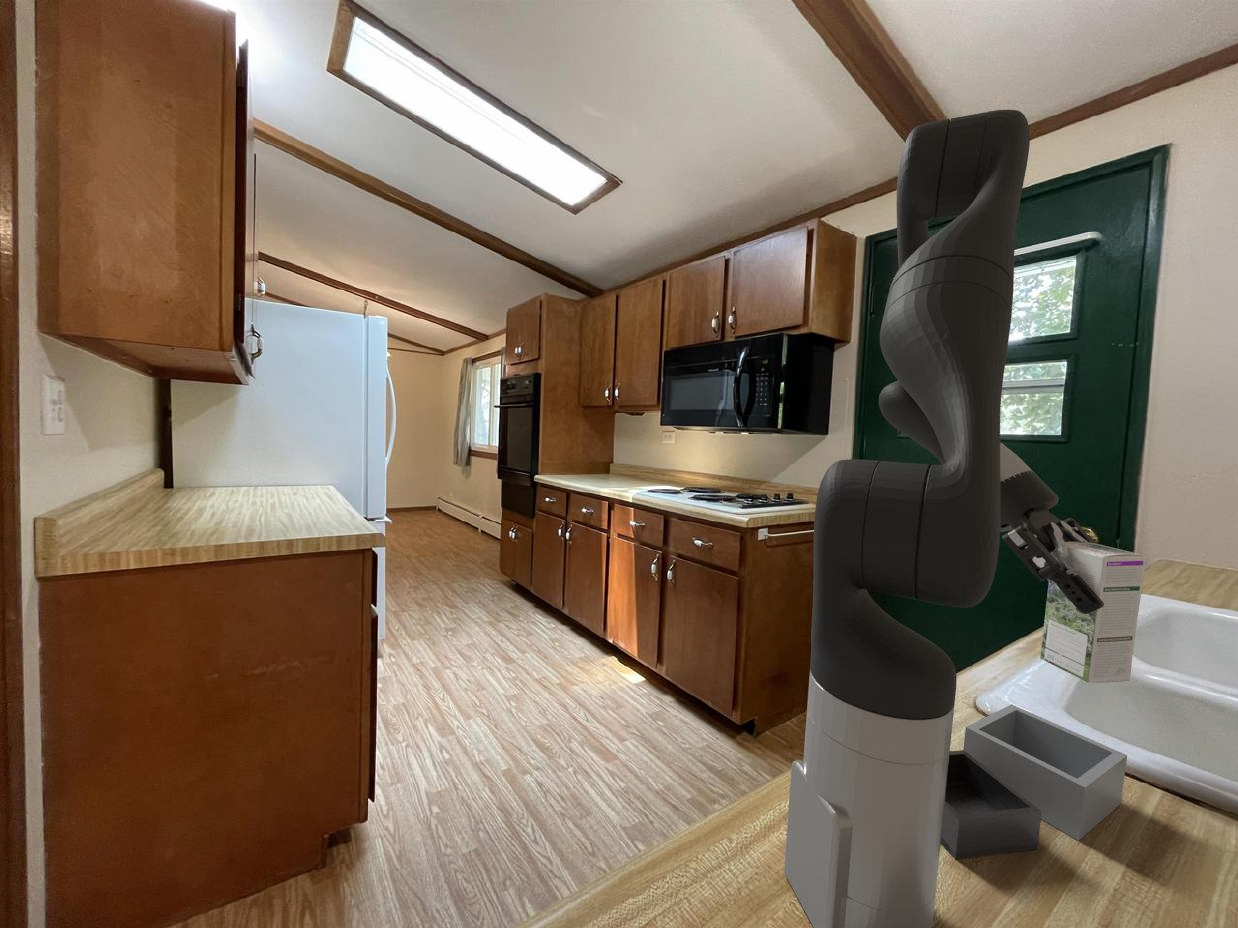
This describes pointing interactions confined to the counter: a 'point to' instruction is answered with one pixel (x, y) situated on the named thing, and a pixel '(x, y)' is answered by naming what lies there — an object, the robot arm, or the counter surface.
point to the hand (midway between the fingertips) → (1109, 604)
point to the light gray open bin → (1050, 767)
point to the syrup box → (1096, 615)
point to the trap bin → (985, 812)
